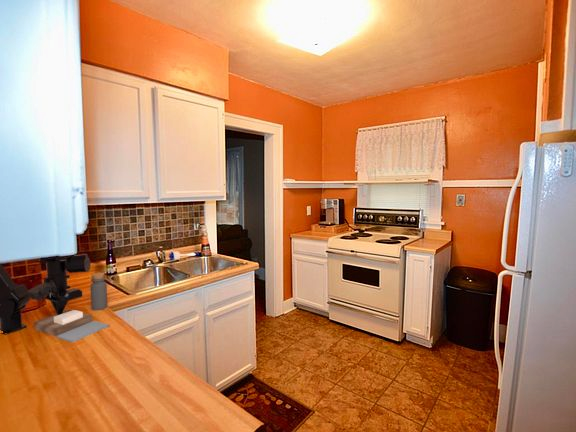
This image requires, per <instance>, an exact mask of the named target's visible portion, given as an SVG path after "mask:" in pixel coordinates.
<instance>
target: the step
mask: <svg viewBox="0 0 576 432" xmlns="http://www.w3.org/2000/svg"><path fill="white" fill-rule="evenodd" d="M72 310H73V309H67V310H63V312H62V314H63V313H66V312H69V311H72ZM60 315H61V314H60ZM55 316H58V315H57V313H56V314H51V315H50V316H47V317H43V318H41V319H38V320H35V321H34V322H33V325H34V331H38V332H41V333H43V334H48V335H50V336H52V337H53V336H54V337H57V336H58V335H60V334H63V333H65V332H68V331H70V330H72V329H75V328H77V327H80V326H82V325H85V324H87V323H90V322H92V321H93V315H92V314H89V313H85V312H83V317H82V318H79V319H77V320H74V321H71V322H69V323H66V324H64V325H62V324H58V323H54V317H55Z"/></svg>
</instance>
